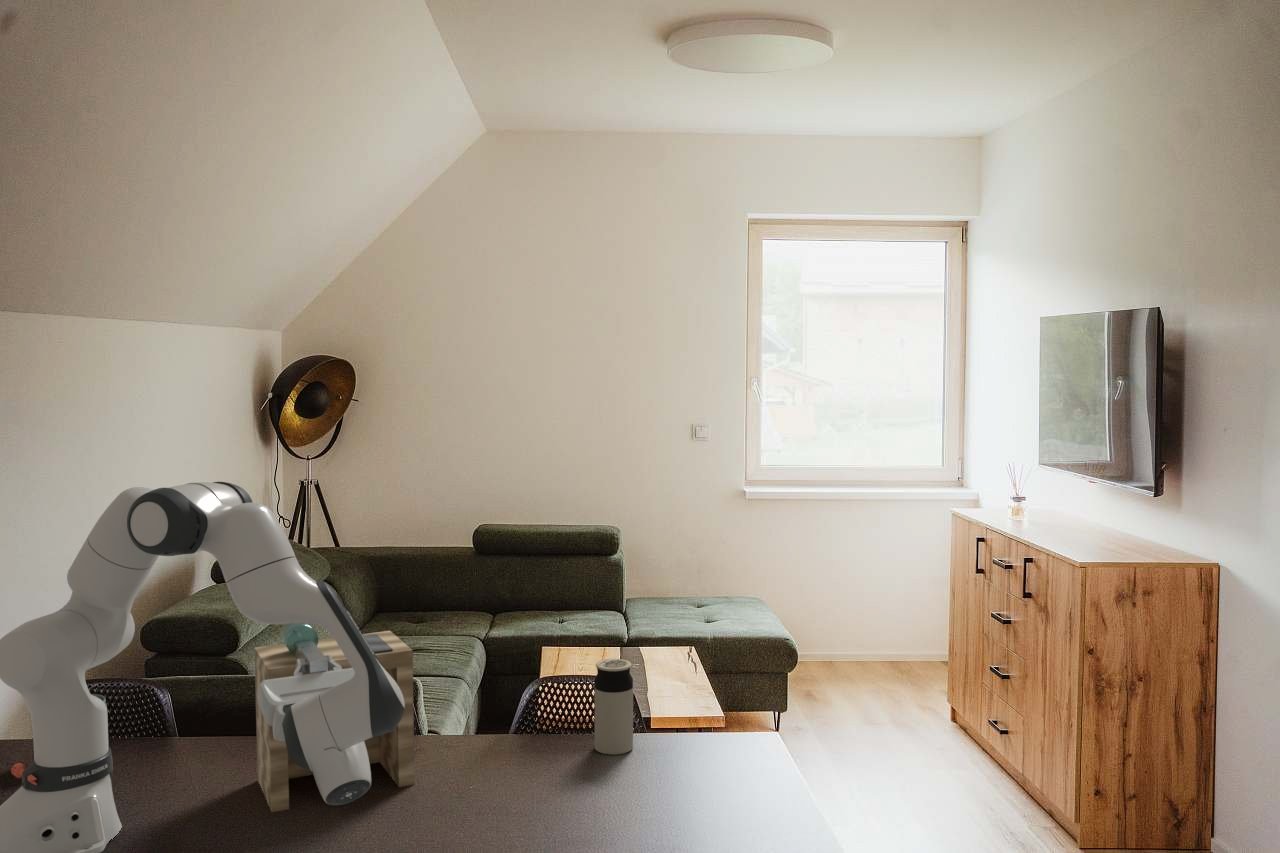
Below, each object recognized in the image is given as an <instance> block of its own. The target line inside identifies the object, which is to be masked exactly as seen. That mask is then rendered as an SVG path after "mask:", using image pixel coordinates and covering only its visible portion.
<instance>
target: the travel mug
mask: <svg viewBox="0 0 1280 853" xmlns="http://www.w3.org/2000/svg"><path fill="white" fill-rule="evenodd" d="M595 667H596V670H597V671H596V672H597V674H596V676H595V677H594V680H593V681H594V685H593V686H594V749H595V750H596V751H597V752H599V753H601V754H603V755H610V756H616V755H617V756H618V755H624V754H626V753H628V752H630V751H632V750H633V748H634V678H633V677H632V675H631V673H630V672H631V668H632V662H631V661H629V660H626V659H622V658H606V659H602V660H598V661H597V662H596V663H595Z"/></svg>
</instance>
